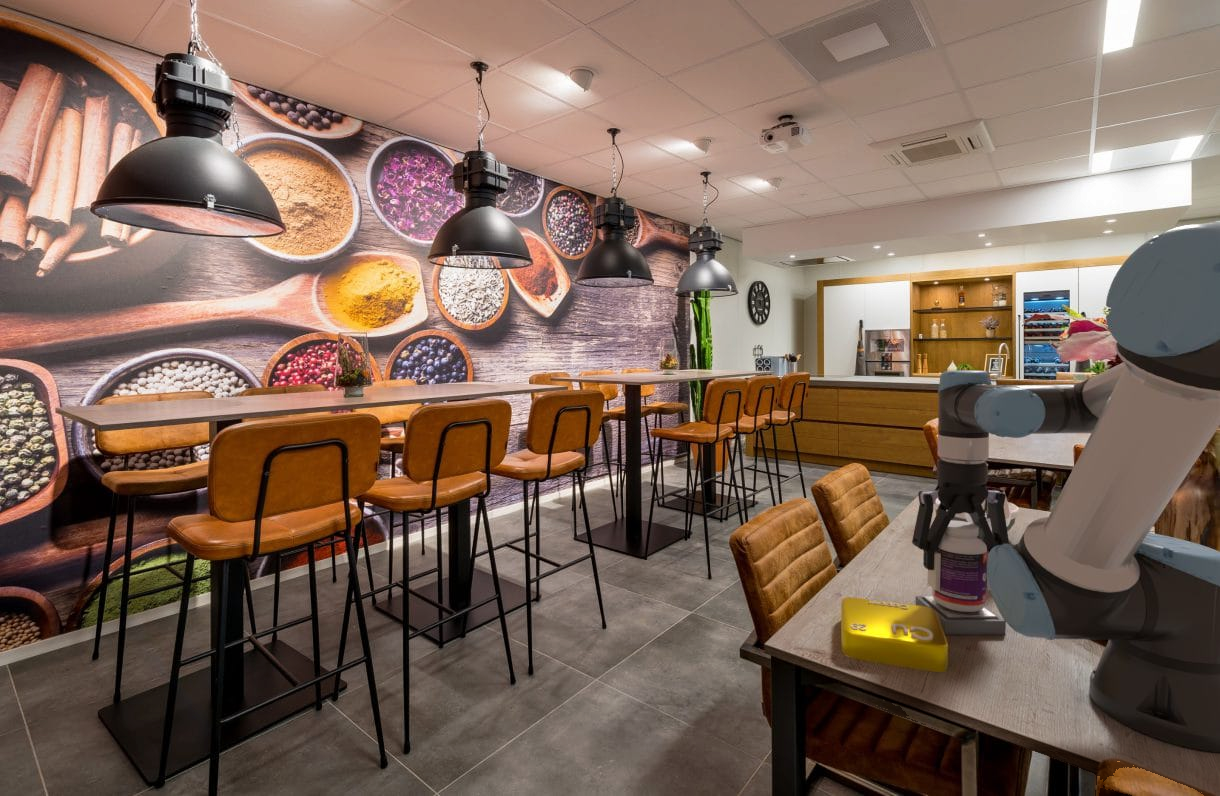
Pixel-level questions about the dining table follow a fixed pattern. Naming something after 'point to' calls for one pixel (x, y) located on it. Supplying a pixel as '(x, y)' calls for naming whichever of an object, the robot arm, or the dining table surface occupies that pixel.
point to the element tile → (893, 634)
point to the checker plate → (958, 612)
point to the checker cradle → (968, 624)
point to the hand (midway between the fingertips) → (958, 586)
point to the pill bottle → (962, 568)
